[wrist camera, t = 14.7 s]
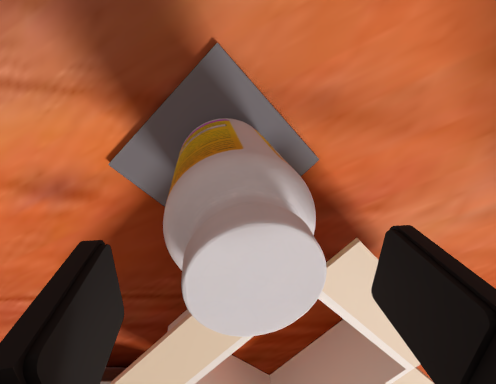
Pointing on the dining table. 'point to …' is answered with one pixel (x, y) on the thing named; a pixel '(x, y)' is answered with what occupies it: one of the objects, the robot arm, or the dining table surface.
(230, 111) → the coaster mat
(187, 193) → the supplement bottle
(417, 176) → the dining table surface
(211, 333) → the carton
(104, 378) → the plant saucer
